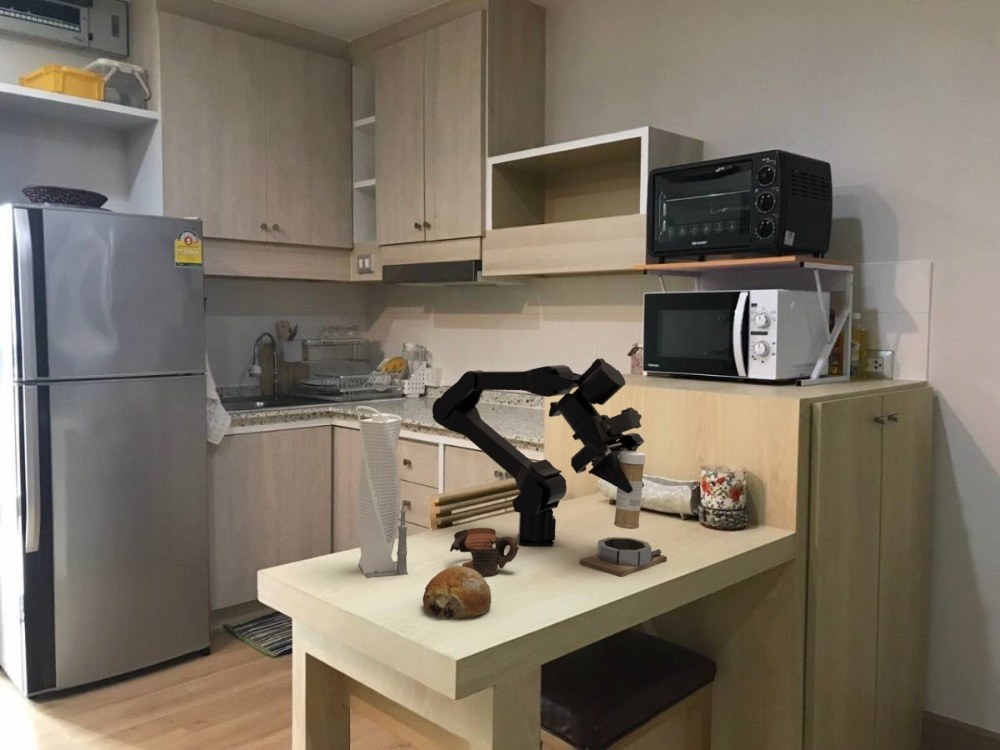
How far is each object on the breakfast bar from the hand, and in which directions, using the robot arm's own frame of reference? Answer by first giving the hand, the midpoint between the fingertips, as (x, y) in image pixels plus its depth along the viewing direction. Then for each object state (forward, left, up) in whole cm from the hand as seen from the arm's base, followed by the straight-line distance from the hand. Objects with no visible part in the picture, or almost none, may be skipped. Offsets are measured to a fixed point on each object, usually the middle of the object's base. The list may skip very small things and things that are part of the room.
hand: (636, 489), depth 145 cm
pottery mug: (-27, -5, -14) cm, 31 cm away
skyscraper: (-45, -7, -14) cm, 47 cm away
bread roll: (-31, -24, -14) cm, 42 cm away
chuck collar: (-1, +1, -12) cm, 13 cm away
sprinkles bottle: (-2, 0, -7) cm, 7 cm away
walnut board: (-2, 0, -13) cm, 13 cm away
